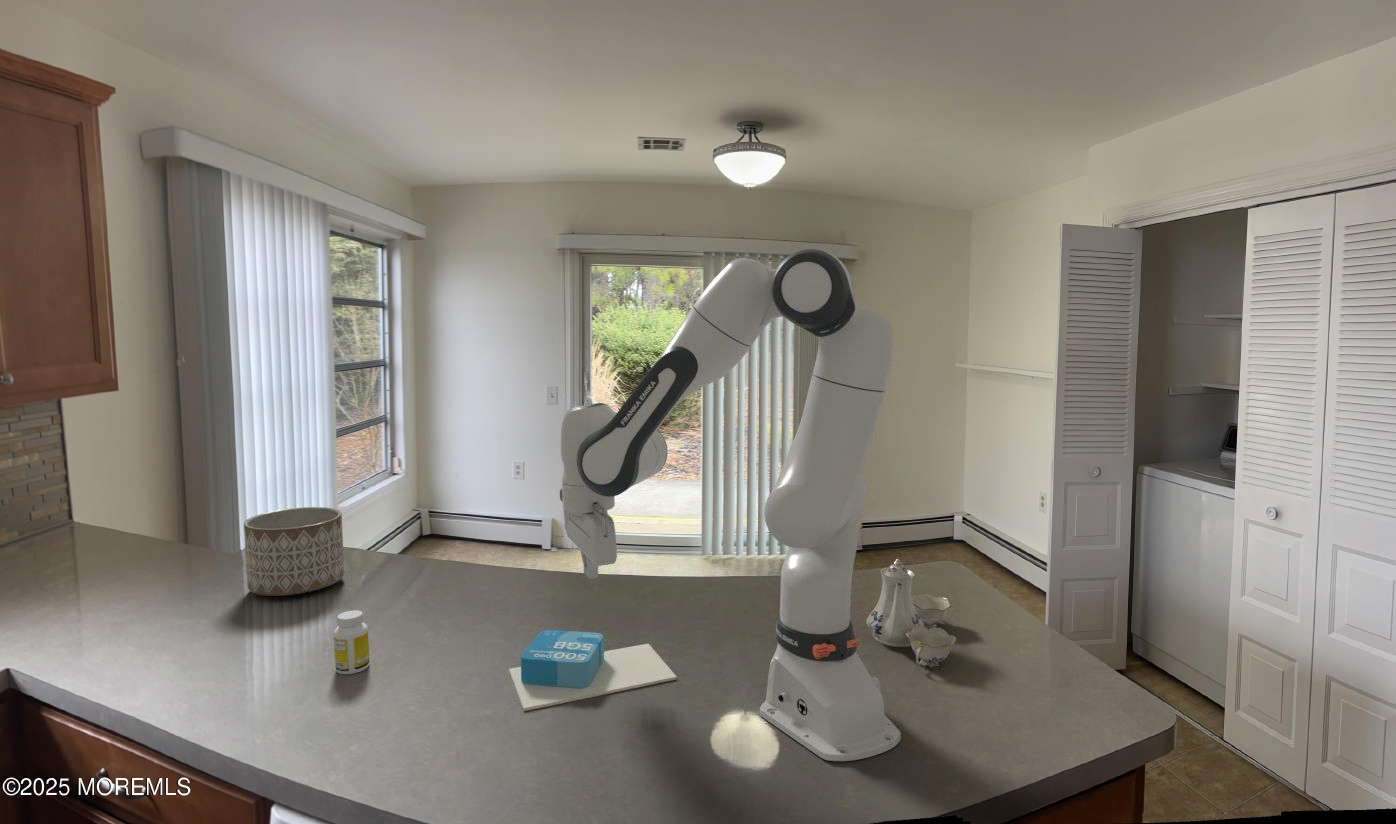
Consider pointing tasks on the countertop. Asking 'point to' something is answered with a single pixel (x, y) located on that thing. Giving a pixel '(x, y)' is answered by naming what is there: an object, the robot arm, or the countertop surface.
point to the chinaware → (910, 617)
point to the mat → (600, 678)
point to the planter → (294, 550)
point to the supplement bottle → (351, 643)
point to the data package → (562, 659)
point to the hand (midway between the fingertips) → (591, 575)
